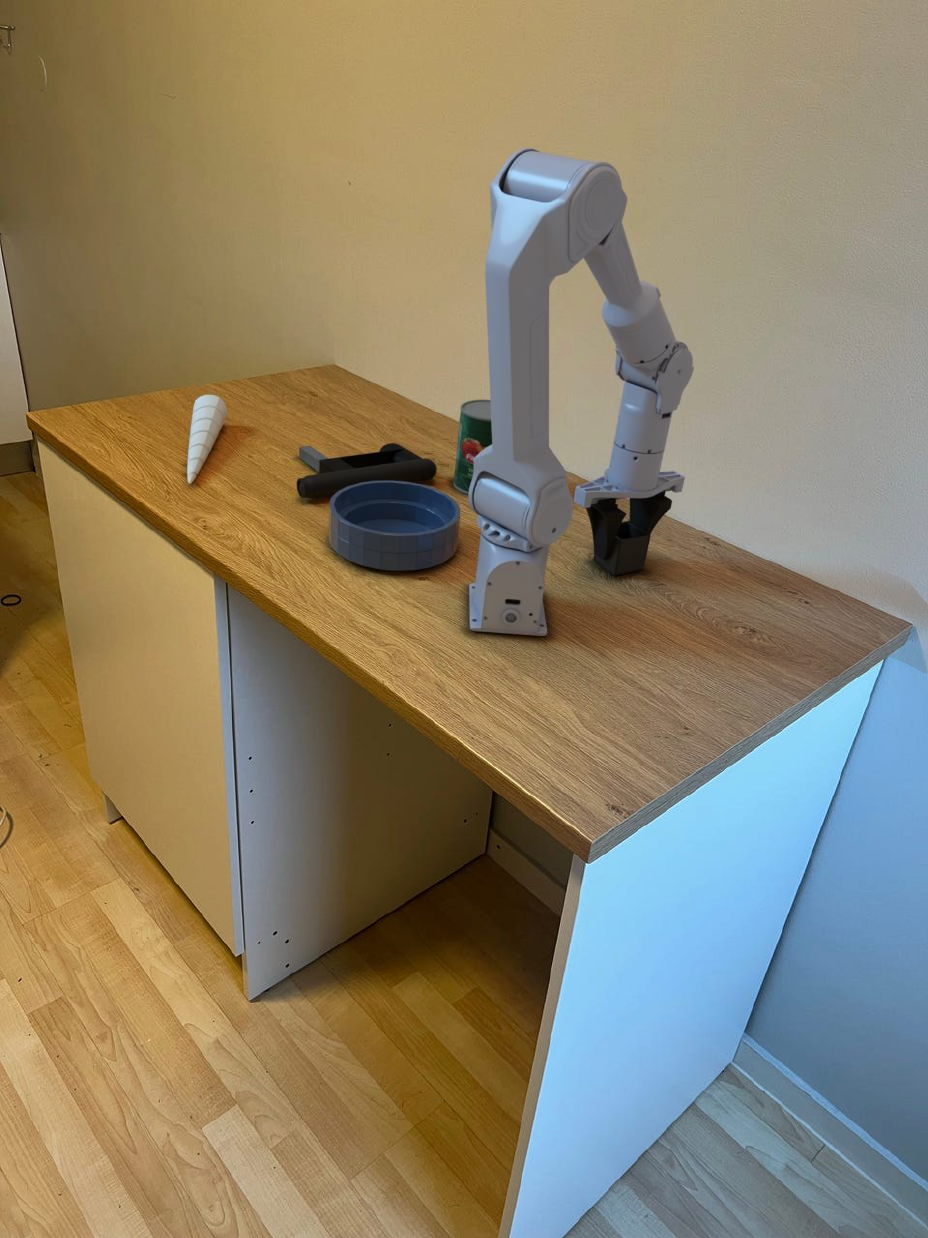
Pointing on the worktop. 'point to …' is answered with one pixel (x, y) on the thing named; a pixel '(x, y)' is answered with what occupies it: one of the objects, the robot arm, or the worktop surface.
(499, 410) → the robot arm
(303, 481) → the door handle
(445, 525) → the bowl
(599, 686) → the worktop surface
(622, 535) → the scoop
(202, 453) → the unicorn horn
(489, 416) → the canned tomato
